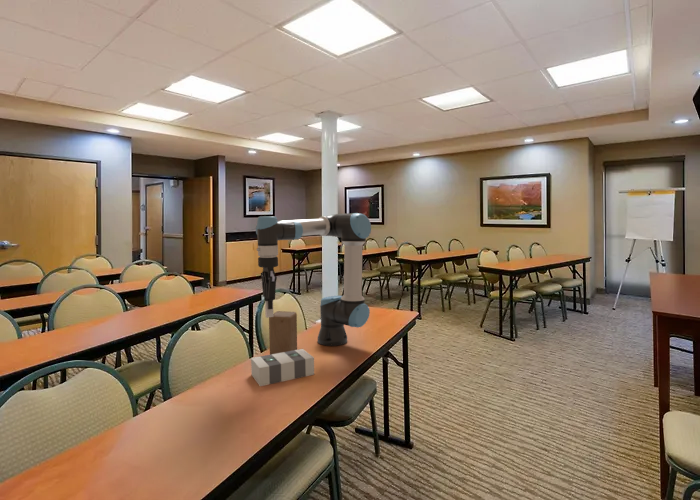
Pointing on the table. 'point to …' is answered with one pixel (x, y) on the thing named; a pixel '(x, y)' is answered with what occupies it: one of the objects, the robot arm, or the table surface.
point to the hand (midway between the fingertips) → (269, 316)
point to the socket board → (282, 367)
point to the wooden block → (283, 332)
